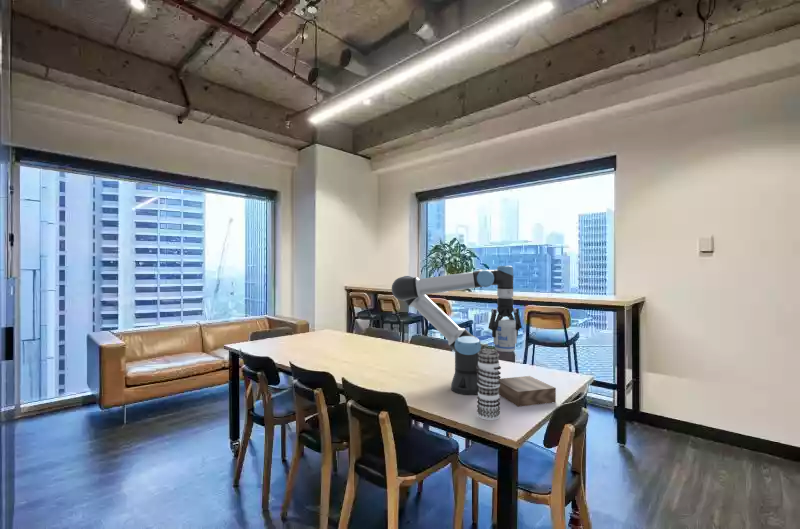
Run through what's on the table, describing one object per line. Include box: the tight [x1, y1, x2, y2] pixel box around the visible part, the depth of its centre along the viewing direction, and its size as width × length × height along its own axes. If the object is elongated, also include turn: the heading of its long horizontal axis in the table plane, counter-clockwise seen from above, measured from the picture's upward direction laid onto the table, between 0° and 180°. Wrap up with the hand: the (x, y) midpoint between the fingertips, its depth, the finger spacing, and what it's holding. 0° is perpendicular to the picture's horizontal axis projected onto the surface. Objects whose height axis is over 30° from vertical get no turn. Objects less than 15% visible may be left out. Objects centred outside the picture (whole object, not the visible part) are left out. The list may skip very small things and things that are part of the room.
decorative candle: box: [476, 348, 502, 421], centre depth 145 cm, size 9×9×25 cm
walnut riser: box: [498, 375, 557, 408], centre depth 166 cm, size 18×18×6 cm
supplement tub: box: [494, 318, 516, 353], centre depth 186 cm, size 10×10×15 cm
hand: (505, 343), depth 186 cm, fingers closed on supplement tub, 10 cm apart
